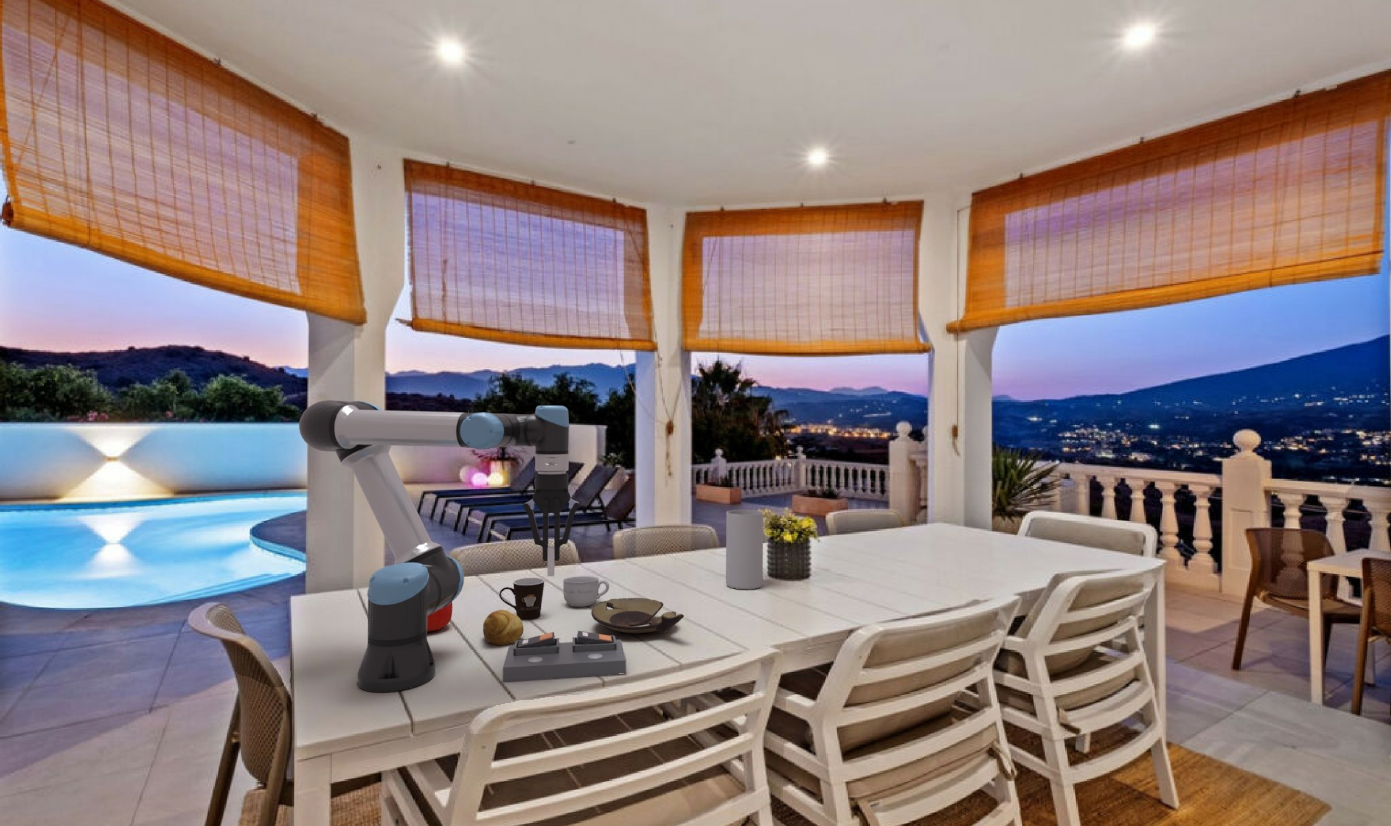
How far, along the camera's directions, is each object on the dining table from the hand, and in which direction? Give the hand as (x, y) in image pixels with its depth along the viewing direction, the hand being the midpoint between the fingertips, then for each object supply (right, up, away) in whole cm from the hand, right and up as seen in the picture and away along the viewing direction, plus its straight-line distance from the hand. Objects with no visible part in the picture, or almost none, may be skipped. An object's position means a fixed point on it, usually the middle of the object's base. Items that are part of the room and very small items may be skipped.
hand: (551, 574), depth 150 cm
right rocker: (+10, -16, +2) cm, 19 cm away
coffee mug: (-16, -21, +35) cm, 43 cm away
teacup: (0, -21, +47) cm, 52 cm away
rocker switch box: (+4, -20, -3) cm, 21 cm away
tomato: (-38, -20, +22) cm, 49 cm away
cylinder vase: (+50, -22, +72) cm, 91 cm away
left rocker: (-3, -16, -1) cm, 16 cm away
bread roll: (-16, -20, +16) cm, 30 cm away
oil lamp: (+18, -21, +23) cm, 36 cm away
